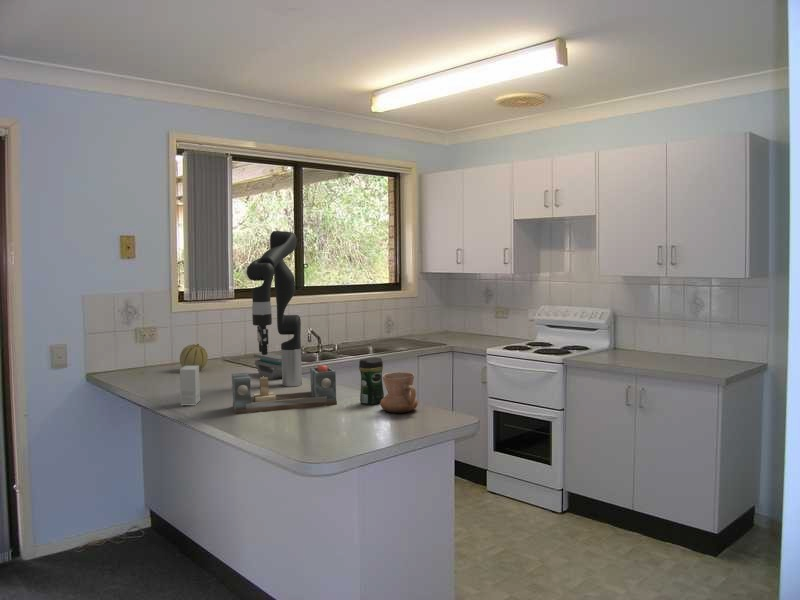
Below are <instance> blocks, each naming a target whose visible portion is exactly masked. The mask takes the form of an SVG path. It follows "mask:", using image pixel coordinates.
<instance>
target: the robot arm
mask: <svg viewBox="0 0 800 600" xmlns="http://www.w3.org/2000/svg"><path fill="white" fill-rule="evenodd" d="M297 243H298V240H297V235H296V234H295V233H294V232H292V231H286V230H285V231H282V230H273V231H272V232H271V233H270V236H269V245H270V249H268V250H266V251H265V252H264V253H263V254H262V255H261V256H260V257H259V258H257V259H255V260H253V261H251V263H249V264H248V266H247V268H246V276H247V278H248V279H249V280H250V281H255V282H257V281H260V282H262V284H261V285H259V286H256V287H255V286H254V287H253V288H252V289H251V295H252V297H251V298H252V303H251V304H252V305H251V310H252V311H251V314H252V315H251V316H252V317H251V319H252V325H253V326H256V334H257V335H256V336H257V343H258V351H259V353H262V355H267V354H268V353H269V352H268V345H269V329H268V328H267V326H270V325H272V323H273V320H272V315H273V313H272V302H271V289H272V284H273V282H274V291H275V292H274V293H275V300H276V303H275V304H276V323H277V324H276V326H277V327H276V328H277V332H278V334H279V335H282V336H283V335H284V336H285V335H286V336H287V335H289V336H290V335H293V337H292V338H291V339H289V340H287V341H283V342H282V343H281V344H280V349H281V350H280V351H281V352H280V353H281V354H280V355H281V357H282V378H281V379H282V380H281V382H282V383H281V384H282V386H283V387H297V386H302V385H303V372H302V371H303V370H302V369H303V367H302V344H301V342H302V341H301V329H302V328H301V327H302V326H301V325H302V321H301V317H300V315H299V314H287V315H286V314H284V313H285V311H286V309H287V306H288V304H289V303H290V301H291V300H292V298H293V297H294V295H295V294H296V279H295V278H296V277H295V276H294V274H293V272H292V271H291V269H290V268H289V266H288V265H287V263H286V262H285V261H284V259H285V258H286V257H288V256H290V255H291V254H292V253H293V252H294V251H295V250H296V248H297V245H298V244H297ZM273 279H274V281H273Z"/></svg>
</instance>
